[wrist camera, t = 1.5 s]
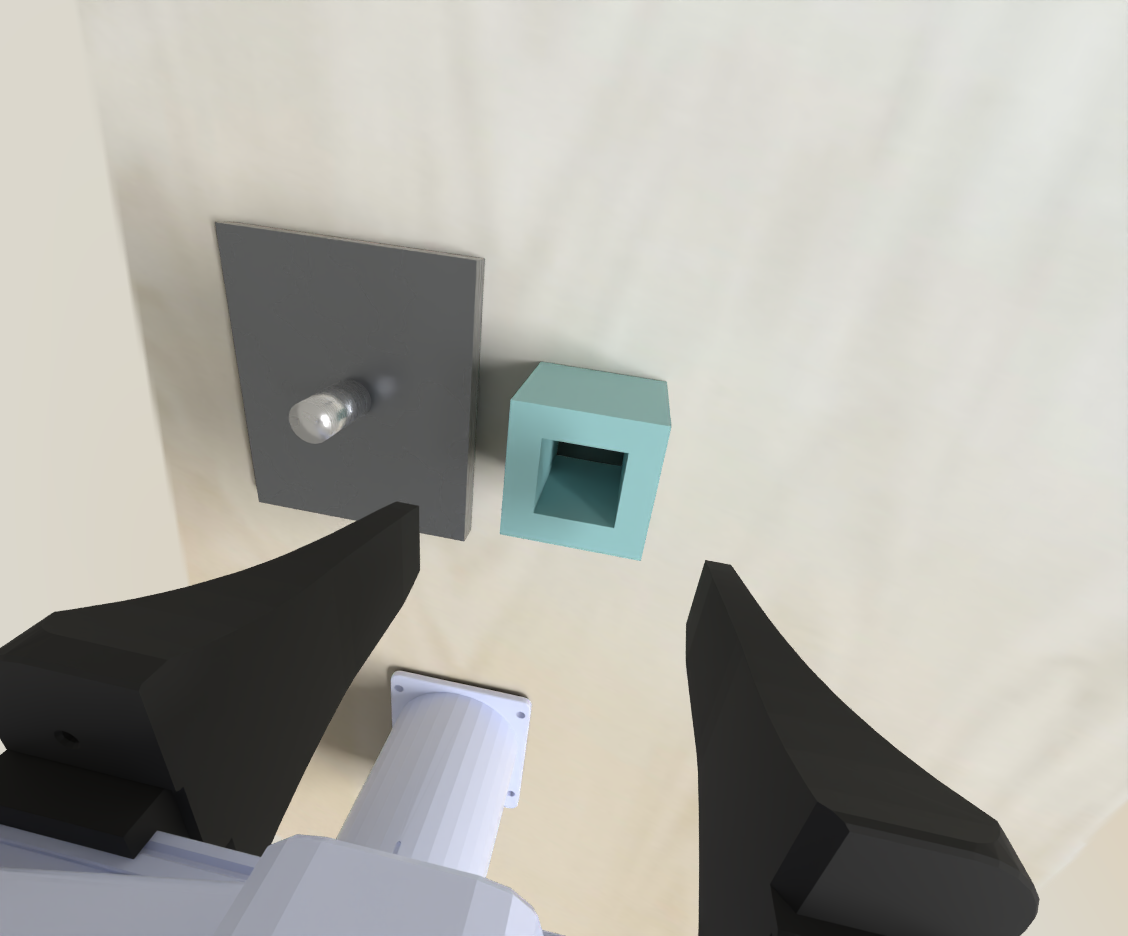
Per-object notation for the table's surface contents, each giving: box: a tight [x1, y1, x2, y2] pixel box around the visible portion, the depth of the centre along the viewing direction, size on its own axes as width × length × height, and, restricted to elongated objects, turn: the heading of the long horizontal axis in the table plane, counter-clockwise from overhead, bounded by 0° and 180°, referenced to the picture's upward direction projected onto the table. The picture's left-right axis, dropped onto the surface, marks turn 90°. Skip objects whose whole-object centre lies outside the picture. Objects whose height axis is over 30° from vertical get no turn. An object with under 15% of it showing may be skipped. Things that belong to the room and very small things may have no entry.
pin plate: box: [215, 222, 485, 541], centre depth 21 cm, size 12×10×4 cm
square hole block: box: [500, 362, 671, 561], centre depth 19 cm, size 5×5×5 cm
